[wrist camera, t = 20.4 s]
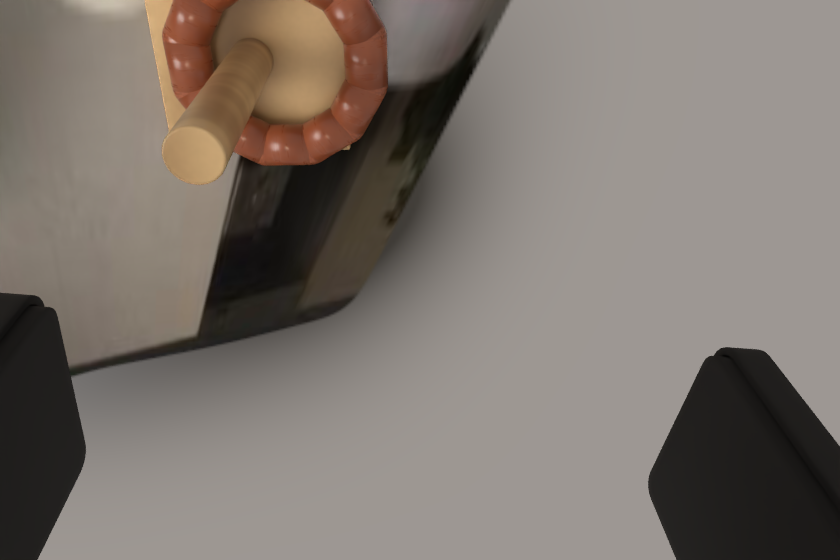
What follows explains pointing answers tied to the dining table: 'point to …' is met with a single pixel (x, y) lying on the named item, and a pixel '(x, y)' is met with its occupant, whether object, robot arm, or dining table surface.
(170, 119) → the wooden peg stand
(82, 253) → the dining table surface
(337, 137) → the ring
